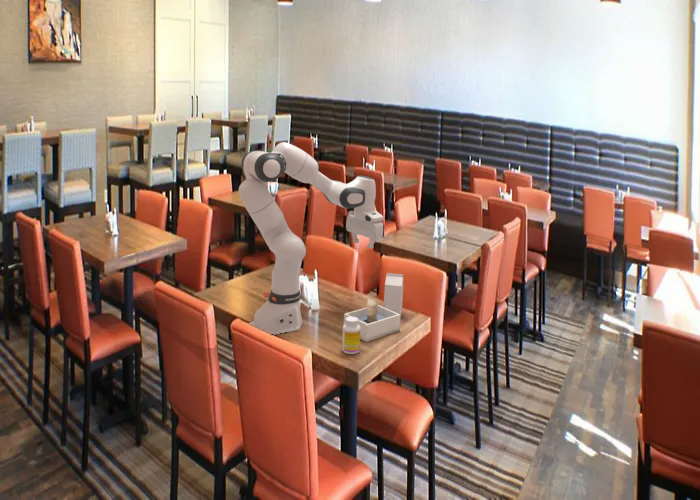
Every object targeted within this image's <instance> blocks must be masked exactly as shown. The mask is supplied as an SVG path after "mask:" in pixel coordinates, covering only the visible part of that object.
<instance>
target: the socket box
mask: <svg viewBox="0 0 700 500" xmlns="http://www.w3.org/2000/svg"><path fill="white" fill-rule="evenodd" d="M401 316H402V314H401V315H400V314H398V313H396V312H393V311H391V310H389V309H387V308H384V306H382V305H379V304H377V321H375V322H372V323H367V306H366V307H362V308H359V309H356V310H352V311H349V312H345V313H343V326H344V325H345V324H346V322H345V321H346V318H347V317H356V318H358V325H359V326H360V328H361V330H360V340H362V341H364V342H370V341H373V340H375V339H379V338H382V337H385V336H388V335H391V334H395V333H397V332H400V330H401Z"/></svg>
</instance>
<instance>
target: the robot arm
mask: <svg viewBox="0 0 700 500" xmlns="http://www.w3.org/2000/svg"><path fill="white" fill-rule="evenodd" d="M240 164H241V170H242V178H243V182H241V183H240V185H239V187H238V194H239V197H240V200H241V202H242V204H243V206H244V208H245V210H246V211H247V212H248V215H250V217H251V219H252V221H253V222H254V224H255V225H256V227H257V229H258V230H259V232H260V234H261V237H262V238H263V239H264V242H265V243H266V245H267V247H268V248H269V250H270V252H272V253H273V254H274V256H275V260H274V261H275V262H274V267H273V269H272V272H271V290H270V292H267V291H264V292H263V297H264V298H266V299H267V300H266V302H264V304H262V305H261V306H260V308H258V309H257V310H256V311H255V313H254V317H253V321H251V322H248V324H251V325H253V326H255V327H257V328H259V329H261V330H264V331H266V332H268V333H270V334H273V335H272V336H275V335H280V333H281V334H285V332H287V333H292V332H296V331H300V330H301V326H302V325H303V323H304V322H303V317H302V313H301V307H300V300H301V290H300V271H301V266H302V263H303V262H302V261H303V260H304V258H305V256H306V253H307V247H306V245H305V244H304V242H303V240H302V238H300V237H299V236H298V235H296V234H295V233H294V232H293V231H292V230H291V229H290V227H289V226H288V223H287V221H286V219H285V217H284V216H285V215H284V213H283V211H282V210H281V208H280V206H279V205H278V204H277V202H276V200H275V198H274V197H273V195H272V194H271V192H270V189H269V187H268V183H271V182H275V181H276V180H277V179H279V178H280V177H281V176H282V174H283V173H285V174H286V175H288V176H289V177H291V178H292V179H294V180H297V181H299V182H301V183H304V184H309V185H311V186H313V187H314V188H316V189H317V190H319V191H320V192H321V193H322V194H323V195H324V198H325V199H326V200H327V201H328V202H329V203H330V204H331V205H337V206H339V207H340V208H344V209H353V210H350V211H349V212H347V213H348V214H347V215H348V216H347V217H346V218H347V219H346V225H345V228H346V229H345V230H346V231H347V232H349V233H351V235H352V238H353V243H354V244H357V245H358V244H359V243H360V238H358V236H361V237H364V238H368V239H369V241H370V242H369V243H368V244H367V247H368V249H373V248H374V244H375V243H376V241H378V240H381V239H383V237H384V223H383V221H384V216H383V215H382V214H381V213H380V212H378V211H377V209H376V204H375V203H376V202H375V201H376V196H377V195H376V194H377V193H376V191H377V187H376V185H377V184H376V181H375V179H374V178H373V177H371V176H366V175H357V176H356V178H354V179H353V180H352V181H350V182H348V183H345V182H342V181H341V180H336V179H335V180H334V179H331V178H329V177H327V176H326V175H324V174H323V173H322V172H320V171H319V163H318V161H317V160H316V159H315V158H314V157H313V156H311V155H310V154H309V153H307V152H306V151H304V150H303V149H301V148H300V147H297V146H296V145H293V144H291V143H288V142H286V141H283V142H279V143H277V144H276V145H275V146H274V148H273V150H272V151H271V152H270V151H269V152H268V151H264V150H251V151H247V153H245V154H244V156H243V157H242V159H241V163H240Z"/></svg>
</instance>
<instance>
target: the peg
mask: <svg viewBox="0 0 700 500" xmlns="http://www.w3.org/2000/svg"><path fill="white" fill-rule="evenodd" d="M378 302H379V300H378V299H377V298H367V305H366V307H367V323H372V322H375V321H377V305H379V303H378Z"/></svg>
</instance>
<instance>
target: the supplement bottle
mask: <svg viewBox="0 0 700 500" xmlns="http://www.w3.org/2000/svg"><path fill="white" fill-rule="evenodd" d="M345 322H346V324H345V325H344V324H343V325H342V337H341V339H342V340H341V342H342V343H341V351H342V352H343V353H345V354H348V355H355V354H358V353H359V352H360V351H361V339H360V330H361V328H360V326H359V325H358V318H356V317H347V318H346V321H345Z"/></svg>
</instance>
